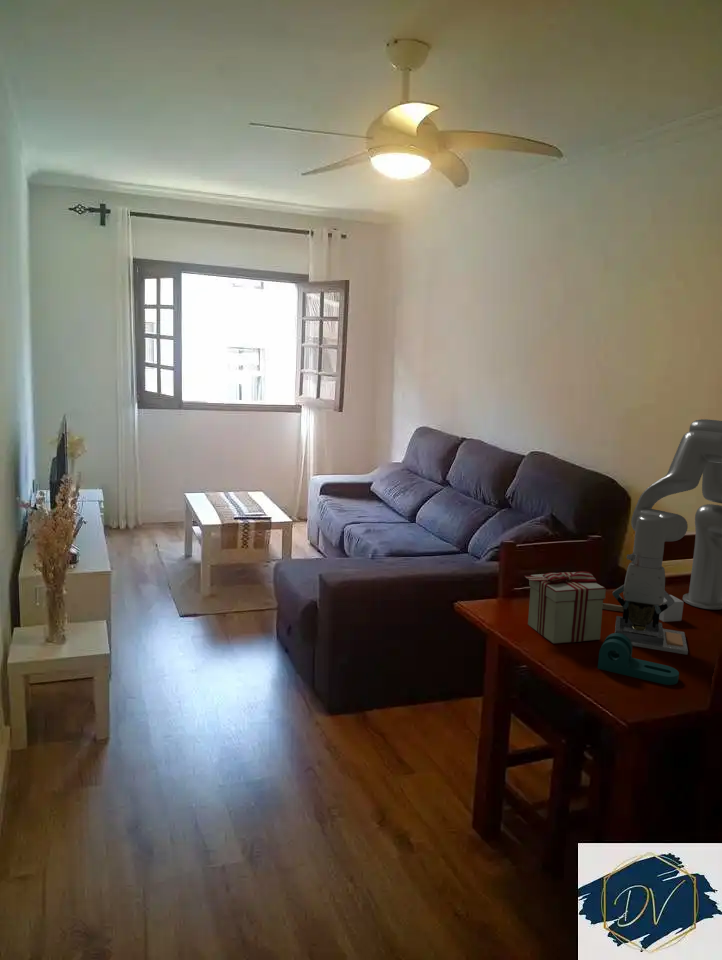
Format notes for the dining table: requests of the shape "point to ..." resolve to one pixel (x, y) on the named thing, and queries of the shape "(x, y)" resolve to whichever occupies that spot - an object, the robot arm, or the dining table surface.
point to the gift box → (566, 606)
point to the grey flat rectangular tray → (653, 637)
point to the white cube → (672, 611)
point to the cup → (640, 615)
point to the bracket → (632, 662)
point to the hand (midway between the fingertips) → (640, 623)
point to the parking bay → (612, 607)
